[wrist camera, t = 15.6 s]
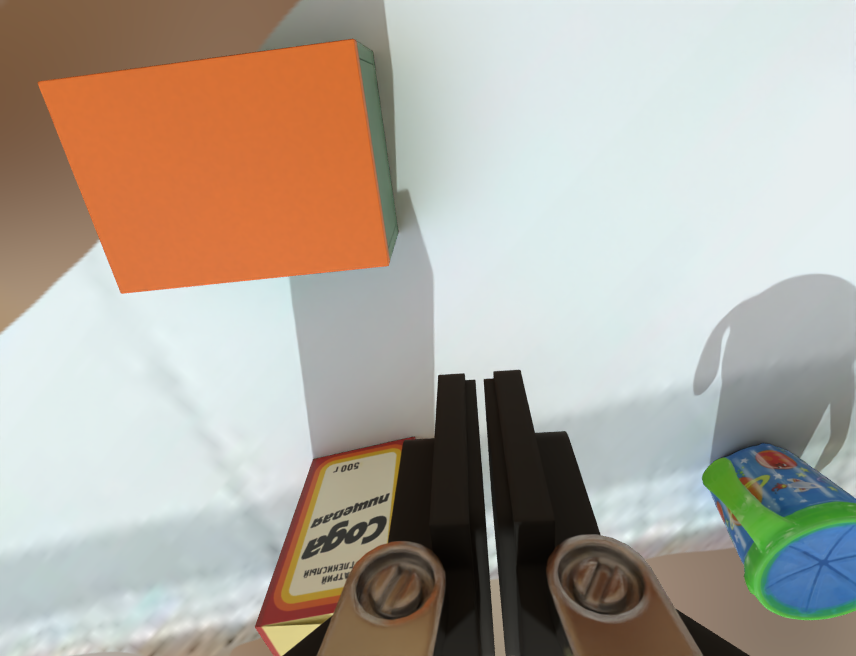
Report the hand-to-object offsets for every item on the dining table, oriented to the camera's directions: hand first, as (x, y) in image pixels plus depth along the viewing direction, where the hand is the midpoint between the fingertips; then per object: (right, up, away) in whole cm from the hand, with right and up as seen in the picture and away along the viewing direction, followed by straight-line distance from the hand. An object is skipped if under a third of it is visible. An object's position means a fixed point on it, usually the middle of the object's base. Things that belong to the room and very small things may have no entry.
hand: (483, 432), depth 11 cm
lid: (-12, +11, +18) cm, 24 cm away
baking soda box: (-6, -11, +35) cm, 38 cm away
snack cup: (+28, -11, +34) cm, 45 cm away
